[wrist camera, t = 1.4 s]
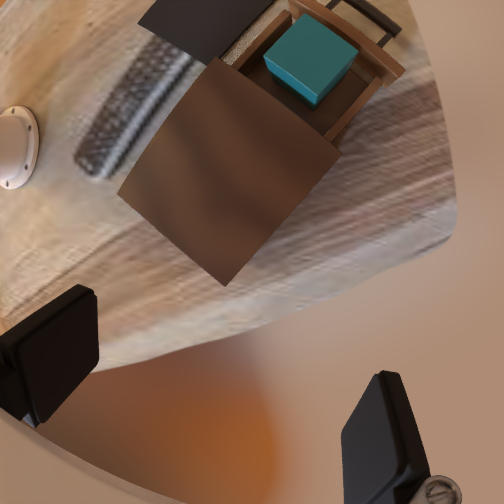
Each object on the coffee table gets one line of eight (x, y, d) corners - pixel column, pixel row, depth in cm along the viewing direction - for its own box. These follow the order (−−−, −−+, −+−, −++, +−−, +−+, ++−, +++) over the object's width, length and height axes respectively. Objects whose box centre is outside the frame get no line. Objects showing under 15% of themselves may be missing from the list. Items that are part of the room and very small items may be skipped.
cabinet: (231, 73, 30) (215, 56, 23) (334, 154, 31) (342, 153, 24) (146, 186, 34) (116, 194, 28) (238, 264, 35) (224, 287, 29)
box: (272, 80, 27) (262, 55, 20) (304, 45, 26) (304, 12, 18) (313, 112, 28) (317, 96, 20) (345, 76, 26) (359, 51, 19)
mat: (138, 24, 29) (136, 23, 28) (202, -44, 25) (201, -45, 25) (211, 68, 30) (210, 68, 29) (281, -6, 26) (281, -8, 25)
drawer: (320, -14, 24) (322, -36, 20) (413, 56, 25) (429, 43, 21) (207, 106, 30) (192, 99, 26) (302, 182, 31) (303, 186, 26)
